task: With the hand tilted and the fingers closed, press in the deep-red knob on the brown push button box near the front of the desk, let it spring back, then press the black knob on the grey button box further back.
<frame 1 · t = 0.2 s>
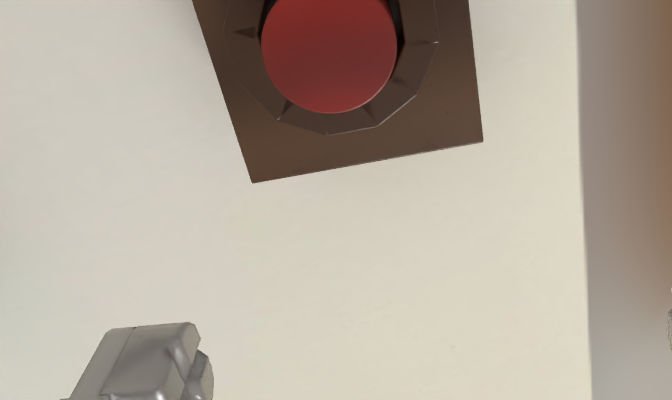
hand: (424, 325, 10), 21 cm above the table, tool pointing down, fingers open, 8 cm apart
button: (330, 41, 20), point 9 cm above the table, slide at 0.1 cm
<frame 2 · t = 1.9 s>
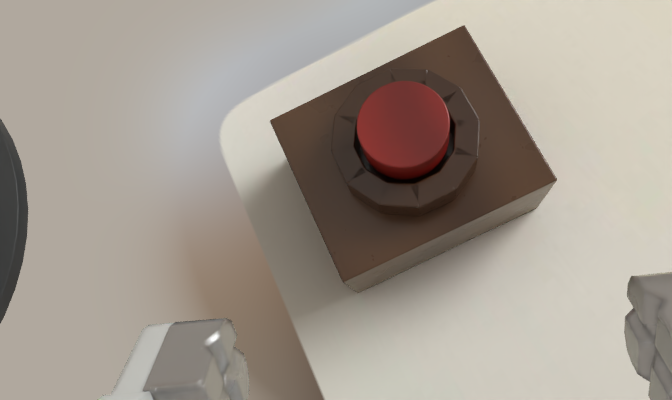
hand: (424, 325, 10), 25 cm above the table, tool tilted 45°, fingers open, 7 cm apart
brown push button box: (410, 179, 37), on the table
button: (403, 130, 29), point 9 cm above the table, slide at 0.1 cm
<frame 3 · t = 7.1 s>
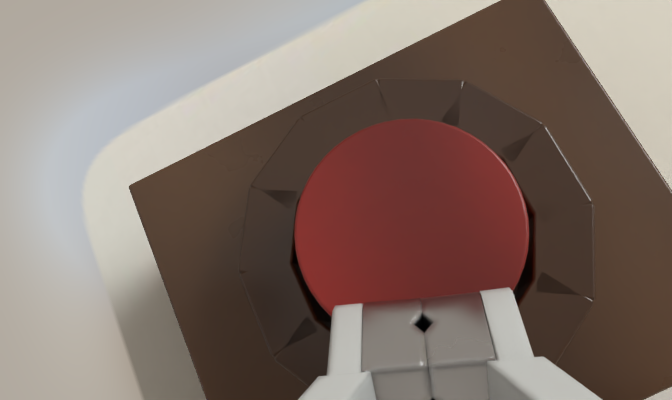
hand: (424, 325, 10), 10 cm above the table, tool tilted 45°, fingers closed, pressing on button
brown push button box: (418, 281, 20), on the table
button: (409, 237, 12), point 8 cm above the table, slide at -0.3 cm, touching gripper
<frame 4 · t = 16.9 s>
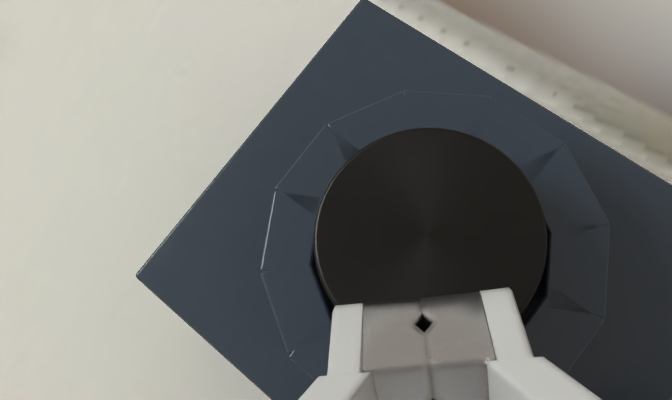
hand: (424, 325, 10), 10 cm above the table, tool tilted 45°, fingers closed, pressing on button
grey button box: (431, 288, 20), on the table
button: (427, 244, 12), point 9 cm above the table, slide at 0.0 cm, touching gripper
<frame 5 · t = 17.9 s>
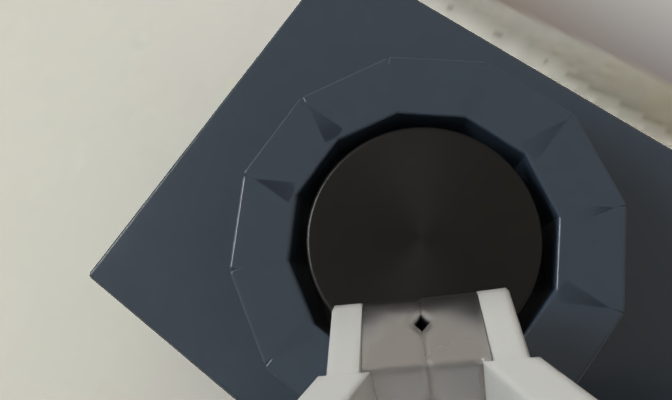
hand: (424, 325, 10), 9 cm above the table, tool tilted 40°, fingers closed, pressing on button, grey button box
grey button box: (418, 274, 19), on the table
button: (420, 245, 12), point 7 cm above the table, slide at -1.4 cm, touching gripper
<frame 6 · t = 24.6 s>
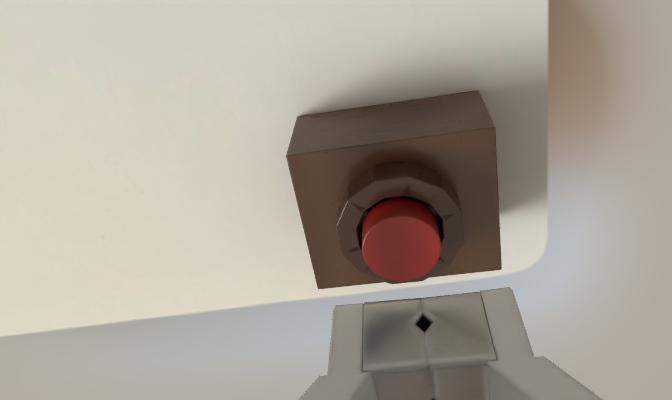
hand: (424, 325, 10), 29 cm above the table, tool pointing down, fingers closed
brown push button box: (395, 170, 41), on the table
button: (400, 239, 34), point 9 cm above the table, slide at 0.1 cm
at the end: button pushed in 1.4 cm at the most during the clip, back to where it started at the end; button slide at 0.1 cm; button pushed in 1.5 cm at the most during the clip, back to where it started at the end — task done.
